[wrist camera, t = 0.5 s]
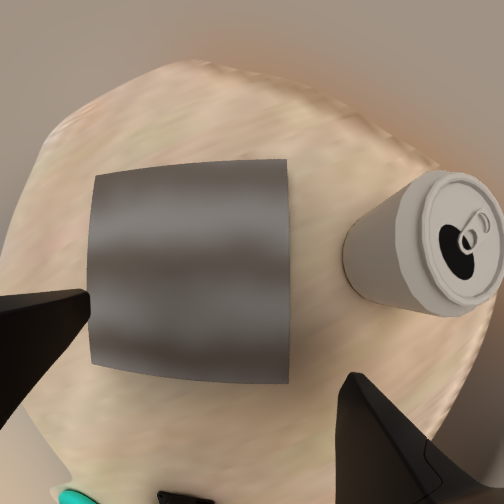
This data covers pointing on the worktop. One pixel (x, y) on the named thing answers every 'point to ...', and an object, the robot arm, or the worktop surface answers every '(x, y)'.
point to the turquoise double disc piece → (73, 498)
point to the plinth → (192, 271)
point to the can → (429, 247)
